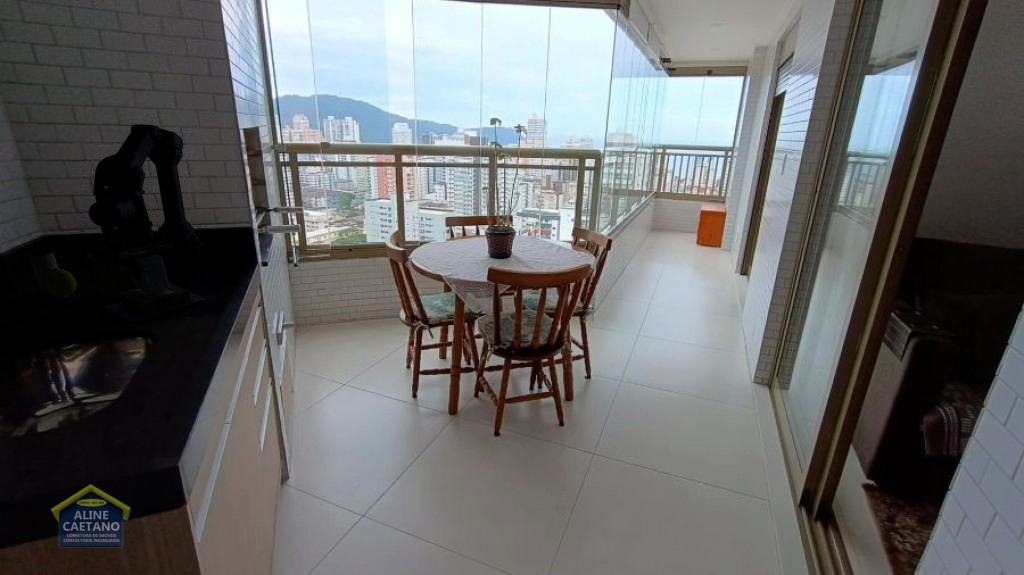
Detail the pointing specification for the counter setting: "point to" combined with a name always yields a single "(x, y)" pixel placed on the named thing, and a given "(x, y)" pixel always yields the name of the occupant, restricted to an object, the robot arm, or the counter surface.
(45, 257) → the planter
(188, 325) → the counter surface
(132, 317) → the blueprint mat
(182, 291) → the plinth
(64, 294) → the lemon
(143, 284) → the medicine box
